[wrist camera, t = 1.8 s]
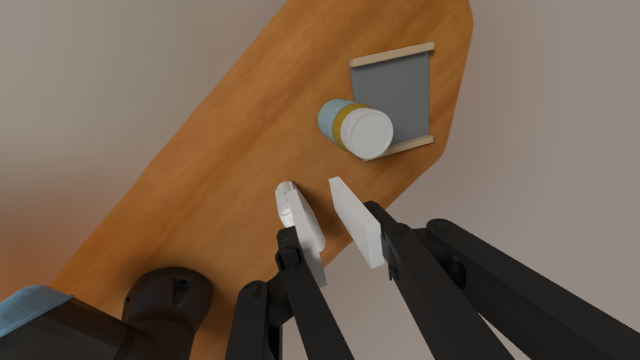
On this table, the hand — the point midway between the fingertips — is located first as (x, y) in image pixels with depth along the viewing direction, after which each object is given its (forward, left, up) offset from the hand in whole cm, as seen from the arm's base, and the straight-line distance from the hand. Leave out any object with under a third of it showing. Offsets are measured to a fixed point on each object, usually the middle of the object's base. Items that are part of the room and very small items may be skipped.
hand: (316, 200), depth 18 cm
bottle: (+10, 0, -27) cm, 29 cm away
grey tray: (+22, 0, -27) cm, 34 cm away
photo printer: (-1, -14, -27) cm, 30 cm away
